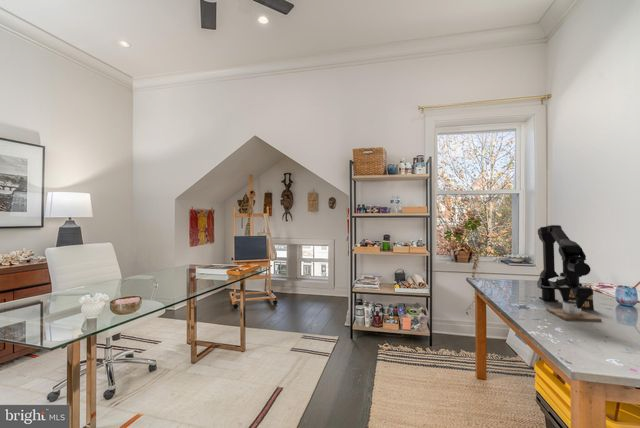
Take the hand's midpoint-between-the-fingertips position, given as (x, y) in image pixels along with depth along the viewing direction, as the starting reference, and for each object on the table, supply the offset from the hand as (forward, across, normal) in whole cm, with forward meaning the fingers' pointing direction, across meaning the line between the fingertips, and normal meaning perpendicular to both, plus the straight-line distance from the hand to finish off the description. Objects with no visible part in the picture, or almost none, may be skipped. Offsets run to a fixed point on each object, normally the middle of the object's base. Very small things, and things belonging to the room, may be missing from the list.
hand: (571, 305), depth 134 cm
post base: (+5, 0, 0) cm, 5 cm away
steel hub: (+4, 0, 0) cm, 4 cm away
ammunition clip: (+5, -12, +10) cm, 16 cm away
